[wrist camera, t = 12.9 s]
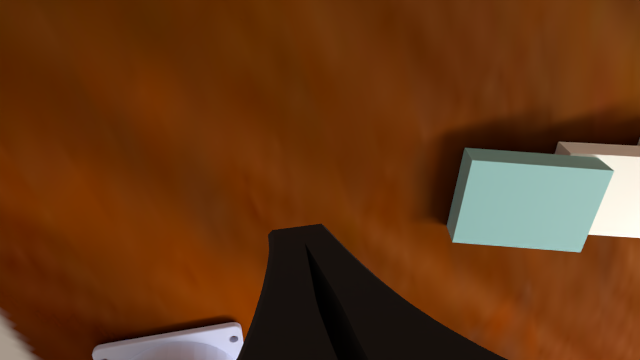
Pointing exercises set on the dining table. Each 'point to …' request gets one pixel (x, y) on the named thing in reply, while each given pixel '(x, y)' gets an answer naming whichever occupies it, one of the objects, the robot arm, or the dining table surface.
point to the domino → (614, 187)
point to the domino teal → (526, 199)
